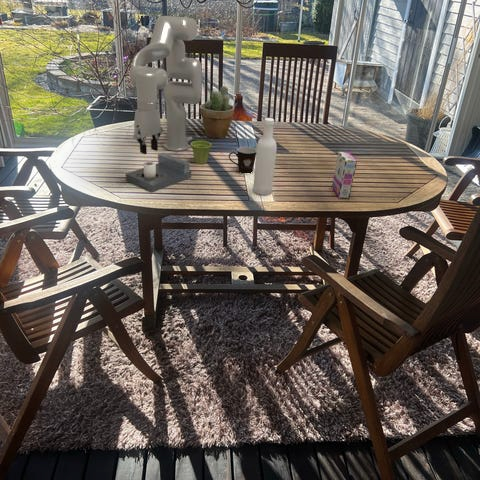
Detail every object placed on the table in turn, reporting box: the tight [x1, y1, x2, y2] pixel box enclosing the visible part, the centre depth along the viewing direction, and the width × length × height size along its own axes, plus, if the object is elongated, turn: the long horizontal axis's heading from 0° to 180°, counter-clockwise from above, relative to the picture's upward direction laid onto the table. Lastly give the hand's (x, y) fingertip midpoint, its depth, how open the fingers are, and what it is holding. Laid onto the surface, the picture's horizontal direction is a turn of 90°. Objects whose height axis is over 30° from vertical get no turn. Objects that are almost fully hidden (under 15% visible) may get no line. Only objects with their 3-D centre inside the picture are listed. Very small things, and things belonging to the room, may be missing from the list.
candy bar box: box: [331, 151, 358, 199], centre depth 188 cm, size 11×5×16 cm, turn 5°
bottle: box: [252, 117, 278, 196], centre depth 181 cm, size 8×8×30 cm
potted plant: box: [199, 85, 235, 139], centre depth 243 cm, size 18×19×25 cm
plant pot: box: [190, 140, 212, 165], centre depth 211 cm, size 9×9×9 cm
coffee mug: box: [228, 146, 257, 174], centre depth 204 cm, size 12×9×10 cm
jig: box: [125, 152, 192, 193], centre depth 190 cm, size 22×16×7 cm
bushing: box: [143, 161, 157, 179], centre depth 187 cm, size 5×5×8 cm
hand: (149, 151), depth 182 cm, fingers open, 5 cm apart
